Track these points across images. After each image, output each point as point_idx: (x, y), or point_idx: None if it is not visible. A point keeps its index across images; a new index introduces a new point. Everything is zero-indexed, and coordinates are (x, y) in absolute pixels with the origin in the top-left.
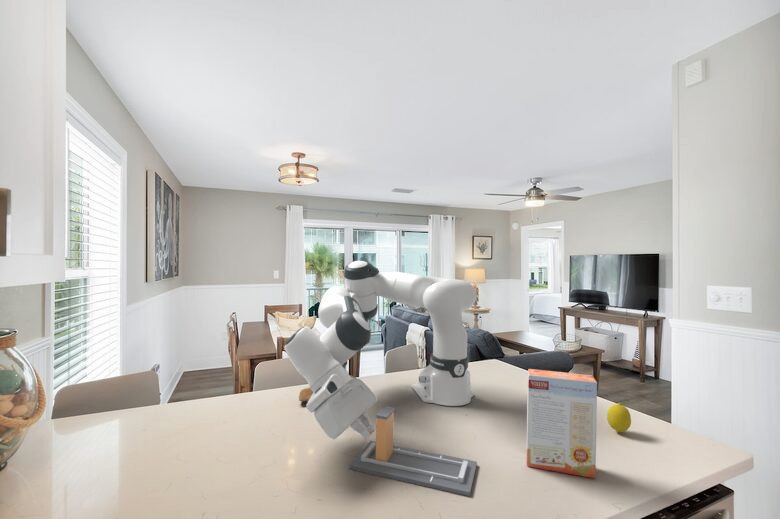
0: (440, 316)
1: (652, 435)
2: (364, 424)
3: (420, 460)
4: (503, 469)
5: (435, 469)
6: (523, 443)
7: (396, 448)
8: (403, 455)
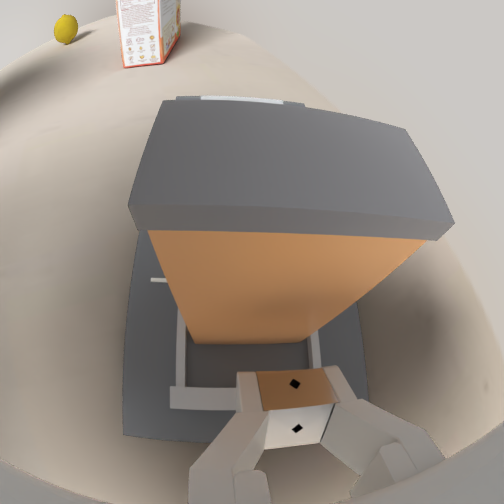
0: None
1: (78, 34)
2: (252, 462)
3: None
4: (180, 79)
5: None
6: (83, 78)
7: (153, 292)
8: None
